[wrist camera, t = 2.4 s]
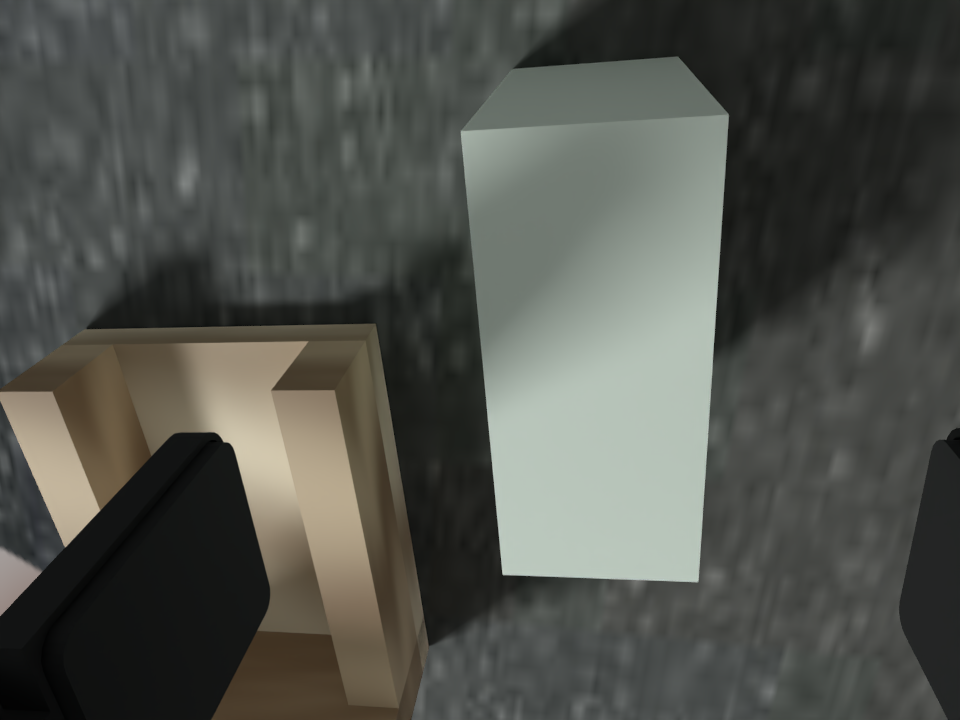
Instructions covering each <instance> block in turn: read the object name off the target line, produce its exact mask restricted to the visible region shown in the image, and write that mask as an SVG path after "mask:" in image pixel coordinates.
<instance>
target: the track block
mask: <svg viewBox="0 0 960 720" xmlns="http://www.w3.org/2000/svg"><path fill="white" fill-rule="evenodd" d="M0 401H1V403H2V405H3V408H4V410H5V412H6V414H7V417H8V419H9V421H10V424H11V426H12V428H13V430H14V433H15V435H16V437H17V439H18V442H19V444H20V446H21V448H22V451H23V453H24V455H25V457H26V460H27V462H28V464H29V467H30V469H31V471H32V473H33V476H34V478H35V480H36V482H37V485H38V487H39V489H40V491H41V494H42V496H43V498H44V500H45V503H46V505H47V507H48V510H49V512H50V514H51V516H52V519H53V521H54V523H55V525H56V528H57V530H58V532H59V534H60V537H61V539H62V541H63V544H64V546H65V547H66V546H67V545H68V544H69V543H70V542H71V541H72V540H73V539H74V538H75V537H76V536H77V535H78V534H79V533H80V531H81V530H82V529H83V528H84V527H85V526H86V525H87V524H88V523H89V522H90V521H91V520H92V519H93V518H94V517H95V516H96V515H97V513H98V512H99V511H100V510H101V509H102V508H103V507H104V506H105V505H106V504H107V503H108V502H109V501H110V500H111V499H112V498H113V497H114V495H115V494H116V493H117V492H118V491H119V490H120V489H121V488H122V487H123V486H124V485H125V484H126V483H127V482H128V481H129V480H130V479H131V477H132V476H133V475H134V474H135V473H136V472H137V471H138V470H139V469H140V468H141V467H142V466H143V465H144V464H145V463H146V462H147V460H148V459H149V458H150V457H151V456H152V455H153V454H154V453H155V452H156V451H157V450H158V449H159V448H160V447H161V446H162V445H163V444H164V442H165V441H166V440H167V439H168V438H169V437H170V436H172V435H173V434H174V433H180V432H215V433H217V434H219V436H220V437H221V438H222V440H223V442H228V443H230V444H231V445H232V447H233V448H234V451H235V454H236V458H237V462H238V466H239V470H240V473H241V477H242V481H243V485H244V489H245V493H246V496H247V500H248V504H249V508H250V512H251V516H252V519H253V523H254V527H255V531H256V535H257V539H258V542H259V546H260V550H261V554H262V558H263V562H264V565H265V569H266V573H267V577H268V581H269V585H270V603H269V607H268V610H267V612H266V615H265V617H264V619H263V621H262V622H261V624H260V626H259V628H258V630H257V632H256V634H255V636H254V638H253V640H252V642H251V644H250V646H249V648H248V650H247V652H246V653H245V655H244V657H243V659H242V661H241V663H240V665H239V667H238V669H237V671H236V673H235V675H234V677H233V679H232V681H231V683H230V685H229V686H228V688H227V690H226V692H225V694H224V696H223V698H222V700H221V702H220V704H219V706H218V708H217V710H216V712H215V714H214V716H213V717H212V719H211V720H411V718H412V714H413V710H414V706H415V702H416V698H417V694H418V690H419V686H420V682H421V678H422V674H423V670H424V666H425V661H426V657H427V653H428V649H429V644H428V638H427V632H426V626H425V620H424V614H423V608H422V602H421V596H420V590H419V583H418V577H417V571H416V565H415V559H414V553H413V547H412V541H411V535H410V529H409V523H408V517H407V510H406V504H405V498H404V492H403V486H402V480H401V474H400V468H399V462H398V456H397V450H396V443H395V437H394V431H393V425H392V419H391V413H390V407H389V401H388V395H387V389H386V383H385V377H384V370H383V364H382V358H381V352H380V346H379V340H378V334H377V328H376V324H333V325H283V326H232V327H181V328H130V329H84V330H83V331H82V332H80V333H79V334H77V335H76V336H75V337H73V338H72V339H70V340H69V341H68V342H66V343H65V344H63V345H62V346H60V347H59V348H58V349H56V350H55V351H53V352H52V353H51V354H49V355H48V356H46V357H45V358H44V359H42V360H41V361H39V362H38V363H37V364H35V365H34V366H32V367H31V368H29V369H28V370H27V371H25V372H24V373H22V374H21V375H20V376H18V377H17V378H15V379H14V380H13V381H11V382H10V383H8V384H7V385H5V386H4V387H3V388H1V389H0Z"/></svg>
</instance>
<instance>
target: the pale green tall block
mask: <svg viewBox="0 0 960 720" xmlns="http://www.w3.org/2000/svg"><path fill="white" fill-rule="evenodd" d="M728 122H729V114H728V113H727V112H726V111H725V110H724V108H723V107H722V106H721V105H720V104H719V103H718V102H717V100H716V99H715V98H714V97H713V96H712V95H711V94H710V92H709V91H708V90H707V89H706V88H705V87H704V86H703V84H702V83H701V82H700V81H699V80H698V79H697V78H696V76H695V75H694V74H693V73H692V72H691V71H690V70H689V69H688V67H687V66H686V65H685V64H684V63H683V62H682V61H681V59H680V58H679V57H665V58H652V59H639V60H625V61H612V62H599V63H585V64H572V65H559V66H545V67H532V68H519V69H512V70H511V71H510V72H509V74H508V75H507V76H506V77H505V79H504V80H503V81H502V82H501V83H500V85H499V86H498V87H497V88H496V89H495V91H494V92H493V93H492V94H491V95H490V97H489V98H488V99H487V100H486V101H485V103H484V104H483V105H482V106H481V107H480V109H479V110H478V111H477V112H476V113H475V115H474V116H473V117H472V118H471V120H470V121H469V122H468V123H467V124H466V126H465V127H464V128H463V129H462V130H461V139H462V150H463V160H464V171H465V182H466V192H467V203H468V213H469V224H470V234H471V245H472V256H473V266H474V277H475V287H476V298H477V309H478V319H479V330H480V340H481V351H482V362H483V372H484V383H485V393H486V404H487V415H488V425H489V436H490V446H491V457H492V468H493V478H494V489H495V499H496V510H497V520H498V531H499V542H500V552H501V563H502V573H503V575H520V576H547V577H574V578H602V579H629V580H656V581H684V582H698V579H699V563H700V548H701V533H702V518H703V503H704V487H705V472H706V457H707V442H708V426H709V411H710V396H711V381H712V365H713V350H714V335H715V320H716V304H717V289H718V274H719V259H720V243H721V228H722V213H723V198H724V183H725V167H726V152H727V137H728Z"/></svg>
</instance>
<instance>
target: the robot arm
mask: <svg viewBox="0 0 960 720" xmlns="http://www.w3.org/2000/svg"><path fill="white" fill-rule="evenodd" d="M269 603H270V585H269V581H268V577H267V573H266V569H265V565H264V562H263V558H262V554H261V550H260V546H259V542H258V539H257V535H256V531H255V527H254V523H253V519H252V516H251V512H250V508H249V504H248V500H247V496H246V493H245V489H244V485H243V481H242V477H241V473H240V470H239V466H238V462H237V458H236V454H235V451H234V448H233V447H232V445H231V444H230V443H228V442H223V440H222V438H221V437H220V436H219V434H217V433H215V432H180V433H174V434H173V435H172V436H170V437H169V438H168V439H167V440H166V441H165V442H164V444H163V445H162V446H161V447H160V448H159V449H158V450H157V451H156V452H155V453H154V454H153V455H152V456H151V457H150V458H149V459H148V460H147V462H146V463H145V464H144V465H143V466H142V467H141V468H140V469H139V470H138V471H137V472H136V473H135V474H134V475H133V476H132V477H131V479H130V480H129V481H128V482H127V483H126V484H125V485H124V486H123V487H122V488H121V489H120V490H119V491H118V492H117V493H116V494H115V495H114V497H113V498H112V499H111V500H110V501H109V502H108V503H107V504H106V505H105V506H104V507H103V508H102V509H101V510H100V511H99V512H98V513H97V515H96V516H95V517H94V518H93V519H92V520H91V521H90V522H89V523H88V524H87V525H86V526H85V527H84V528H83V529H82V530H81V531H80V533H79V534H78V535H77V536H76V537H75V538H74V539H73V540H72V541H71V542H70V543H69V544H68V545H67V546H66V547H65V548H64V549H63V551H62V552H61V553H60V554H59V555H58V556H57V557H56V558H55V559H54V560H53V561H52V562H51V563H50V564H49V565H48V566H47V567H46V569H45V570H44V571H43V572H42V573H41V574H40V575H39V576H38V577H37V578H36V579H35V580H34V581H33V582H32V583H31V584H30V586H29V587H28V588H27V589H26V590H25V591H24V592H23V593H22V594H21V595H20V596H19V597H18V598H17V599H16V600H15V601H14V603H13V604H12V605H11V606H10V607H9V608H8V609H7V610H6V611H5V612H4V613H3V614H2V615H1V616H0V720H211V719H212V717H213V716H214V714H215V712H216V710H217V708H218V706H219V704H220V702H221V700H222V698H223V696H224V694H225V692H226V690H227V688H228V686H229V685H230V683H231V681H232V679H233V677H234V675H235V673H236V671H237V669H238V667H239V665H240V663H241V661H242V659H243V657H244V655H245V653H246V652H247V650H248V648H249V646H250V644H251V642H252V640H253V638H254V636H255V634H256V632H257V630H258V628H259V626H260V624H261V622H262V621H263V619H264V617H265V615H266V612H267V610H268V607H269ZM899 614H900V621H901V625H902V629H903V631H904V634H905V636H906V638H907V640H908V642H909V644H910V646H911V648H912V650H913V652H914V654H915V656H916V657H917V659H918V661H919V663H920V665H921V667H922V669H923V671H924V673H925V675H926V677H927V679H928V681H929V683H930V685H931V687H932V689H933V691H934V693H935V695H936V697H937V699H938V701H939V703H940V705H941V707H942V709H943V711H944V713H945V715H946V717H947V719H948V720H960V428H956V429H954V430H952V431H951V433H950V434H949V435H948V437H947V440H938V441H936V443H935V444H934V445H933V448H932V451H931V456H930V461H929V465H928V470H927V475H926V480H925V484H924V489H923V494H922V499H921V503H920V508H919V513H918V518H917V522H916V527H915V532H914V537H913V541H912V546H911V551H910V556H909V560H908V565H907V570H906V575H905V579H904V584H903V589H902V594H901V598H900V605H899Z"/></svg>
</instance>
